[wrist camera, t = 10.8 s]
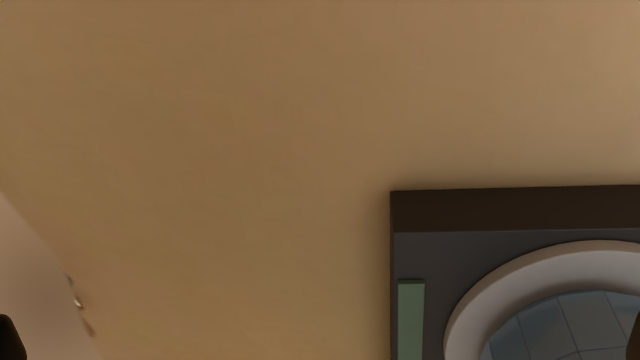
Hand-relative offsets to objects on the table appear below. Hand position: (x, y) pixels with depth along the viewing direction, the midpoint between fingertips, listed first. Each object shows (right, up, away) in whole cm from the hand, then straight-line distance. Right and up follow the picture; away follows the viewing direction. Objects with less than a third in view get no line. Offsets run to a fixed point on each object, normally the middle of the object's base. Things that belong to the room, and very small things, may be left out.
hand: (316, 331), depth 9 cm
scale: (+9, -2, +15) cm, 17 cm away
